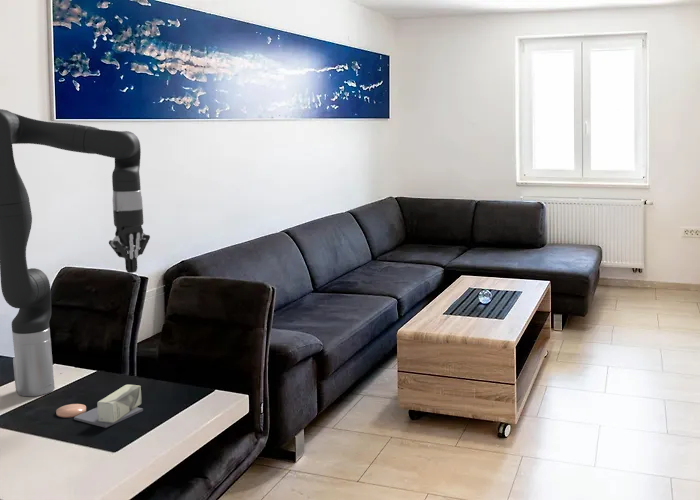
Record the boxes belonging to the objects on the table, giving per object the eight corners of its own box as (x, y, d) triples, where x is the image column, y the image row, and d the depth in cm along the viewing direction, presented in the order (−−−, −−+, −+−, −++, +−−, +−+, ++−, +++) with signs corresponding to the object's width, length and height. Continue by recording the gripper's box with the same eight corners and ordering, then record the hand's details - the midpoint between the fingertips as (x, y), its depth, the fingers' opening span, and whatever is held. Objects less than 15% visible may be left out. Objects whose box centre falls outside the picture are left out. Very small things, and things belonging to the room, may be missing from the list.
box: (142, 403, 190) (114, 424, 178) (126, 402, 191) (97, 422, 179) (140, 384, 189) (112, 403, 177) (125, 382, 190) (96, 402, 178)
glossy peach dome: (50, 414, 186) (50, 411, 186) (73, 405, 192) (73, 402, 192) (69, 419, 182) (69, 416, 182) (92, 409, 188) (92, 406, 188)
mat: (74, 419, 182) (73, 417, 182) (111, 403, 193) (111, 401, 192) (106, 427, 177) (105, 425, 177) (143, 410, 187) (142, 408, 187)
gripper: (136, 204, 205) (139, 266, 207) (98, 209, 193) (102, 275, 196) (156, 205, 201) (159, 269, 204) (118, 211, 190) (123, 278, 192)
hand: (131, 272), depth 200 cm, fingers closed
